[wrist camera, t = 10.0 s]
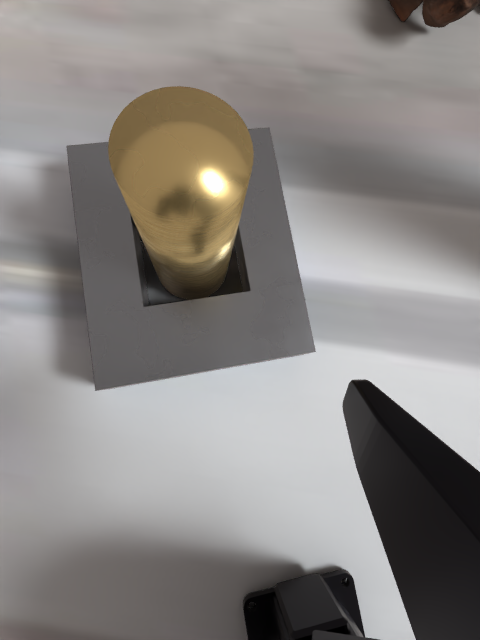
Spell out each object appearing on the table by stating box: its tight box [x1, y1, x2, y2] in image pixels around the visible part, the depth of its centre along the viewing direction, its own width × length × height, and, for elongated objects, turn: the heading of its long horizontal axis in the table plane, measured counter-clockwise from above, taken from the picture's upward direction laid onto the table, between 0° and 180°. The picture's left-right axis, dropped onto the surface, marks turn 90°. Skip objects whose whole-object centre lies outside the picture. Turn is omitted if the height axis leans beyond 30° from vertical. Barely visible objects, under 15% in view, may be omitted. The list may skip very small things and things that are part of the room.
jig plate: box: [67, 128, 316, 391], centre depth 22 cm, size 14×12×3 cm
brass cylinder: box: [108, 87, 254, 300], centre depth 17 cm, size 5×5×12 cm
